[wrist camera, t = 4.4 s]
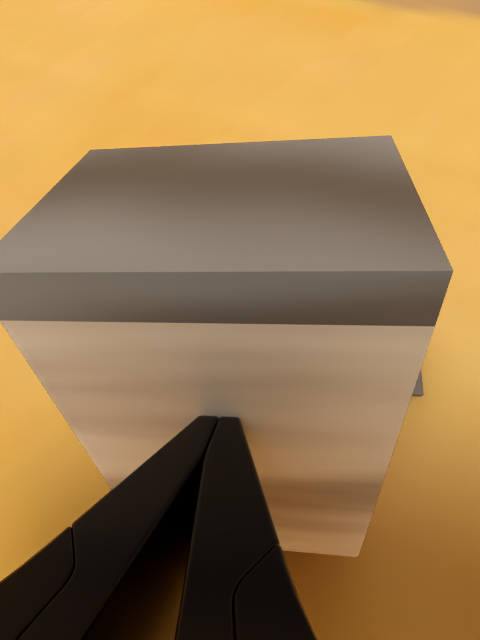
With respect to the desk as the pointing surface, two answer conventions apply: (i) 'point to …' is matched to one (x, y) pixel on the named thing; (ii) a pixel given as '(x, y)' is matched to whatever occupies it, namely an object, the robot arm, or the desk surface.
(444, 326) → the desk surface
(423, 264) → the cream block
